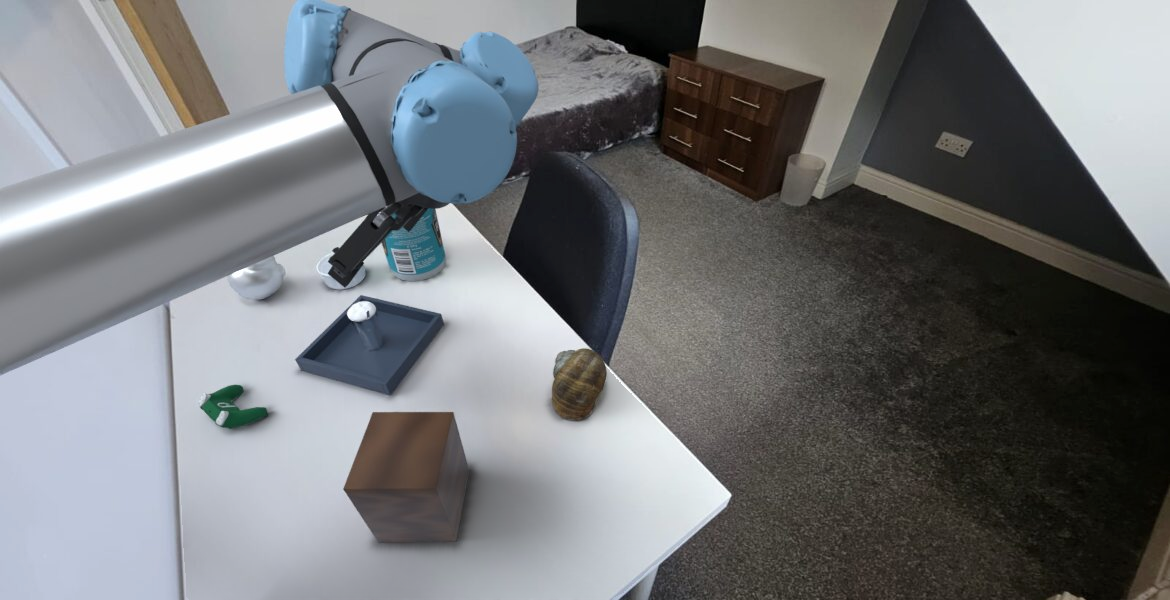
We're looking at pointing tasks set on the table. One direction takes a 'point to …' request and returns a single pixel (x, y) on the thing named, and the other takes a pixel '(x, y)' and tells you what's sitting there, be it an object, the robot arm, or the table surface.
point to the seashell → (577, 382)
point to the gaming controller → (229, 408)
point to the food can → (416, 249)
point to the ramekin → (323, 270)
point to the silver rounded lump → (258, 279)
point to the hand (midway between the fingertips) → (372, 249)
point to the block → (410, 477)
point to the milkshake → (366, 324)
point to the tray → (372, 369)
